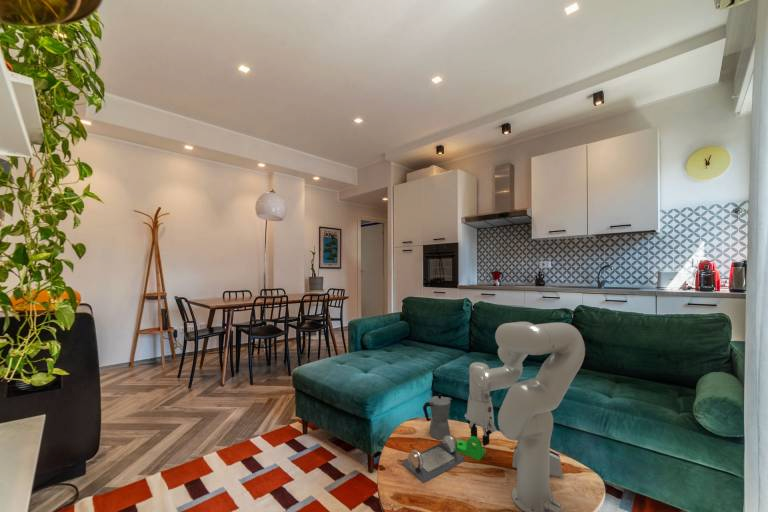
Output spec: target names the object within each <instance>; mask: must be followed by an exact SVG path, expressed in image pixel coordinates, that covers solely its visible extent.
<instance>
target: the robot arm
mask: <svg viewBox="0 0 768 512" xmlns="http://www.w3.org/2000/svg"><path fill="white" fill-rule="evenodd" d="M494 336H495V337H494V338H495V339H494V340H495V342H496V345H497V346H498V349H497V356H498V357H499V360H500V361H501V362H502V363H504V365H503V366H501V367H500V366H499V367H492V368H490V367H489V365H488V364H486V363H484V362H481V361H480V362H479V361H476V362H472V363H470V364H469V396H468V399H467V405H466V406H467V407H466V413H465V414H464V416H463V417H465V419H466V422H467V423H468V427H469V429H470V437H471V436H476V437H477V438H478V427H477V426H479V427H480V428H482V433H483V435H482V447H486V446H487V445H490V435H491V434H493V433H494V432H497V428H496V426H495V419H494V418H495V417H494V407H493V402H492V396H490V392H492V391H497V390H498V391H499V390H502V389H507V388H509V389H508V390H507V393H506V394H505V397H504V399H503V402H502V404H501V406H500V408H499V410H498V414H497V426H498V429H499V432H500V433H501V434H502V435H503V436H504V437H505V438H506V439H508V440H510V441H515V442H516V445H517V468H516V486H514V487H513V488H512V490H511V498H512V502H513V503H514V504H515V505H516V506H517V507H518V508H519V509H520V510H521V511H523V512H563V511H562V504H561V503H559V502H557V501H556V500H555V499H554V493H553V492H552V491H550V482H551V481H550V476H551V475H550V449H551V439H552V438H551V437H552V434H553V430H554V417H553V413H552V411H554V410H556V409H557V408H558V407H559V405H560V404H561V402H562V400H563V399H564V397H565V395H566V393H567V391H568V389H570V386H571V385H572V382H573V380H574V378H575V377H576V375H577V373H578V372H579V370H580V369H581V367H582V365H583V362H584V359H585V355H586V346H585V341H584V339H583V336H582V334H581V332H580V331H579V330H578V329H577V328H576V327H575V326H574V325H572V324H571V323H566V322H548V323H547V322H546V323H538V324H534V323H532V322H529V321H516V322H513V321H512V322H506V323H502V324H500V325H499V326H498V327H497V329H496V331H495V335H494ZM546 354H547V355H548V354H550V356H548V357H547V359H545V360H544V362H543V363H542V365H541V367H539V368H540V369H539V370H538V372H537V374H536V375H535V377H533V378H531V379H526V380H525V379H524V380H522V381H518V380H519V379H520V378H521V377H522V374H523V370H524V369H523V367H524V366H523V362H524V361H525V359H526V358H527V357H528V355H530V356H541V355H542V356H543V355H546Z"/></svg>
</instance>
